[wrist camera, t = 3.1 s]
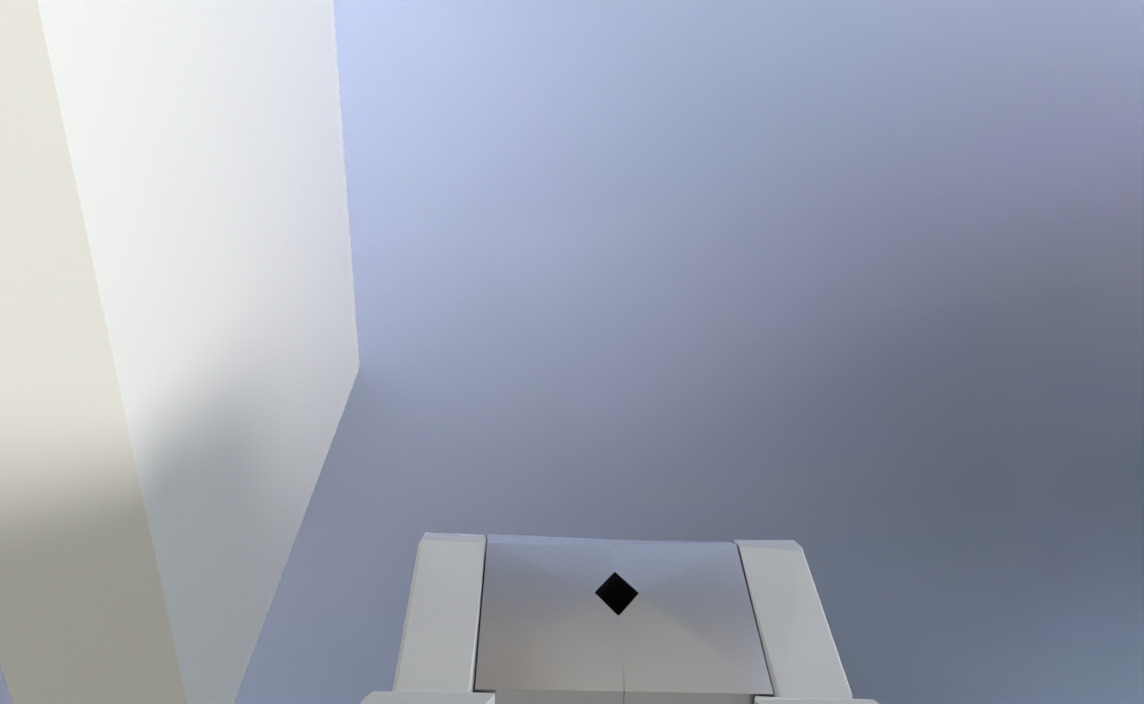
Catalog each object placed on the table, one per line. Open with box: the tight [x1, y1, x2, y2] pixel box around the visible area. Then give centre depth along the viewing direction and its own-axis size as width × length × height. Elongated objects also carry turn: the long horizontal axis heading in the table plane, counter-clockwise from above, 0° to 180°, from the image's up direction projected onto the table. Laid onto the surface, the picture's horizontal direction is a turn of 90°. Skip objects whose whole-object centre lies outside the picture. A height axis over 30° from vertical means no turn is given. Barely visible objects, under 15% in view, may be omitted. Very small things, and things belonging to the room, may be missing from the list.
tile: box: [0, 0, 360, 704], centre depth 14 cm, size 2×10×10 cm, turn 178°
